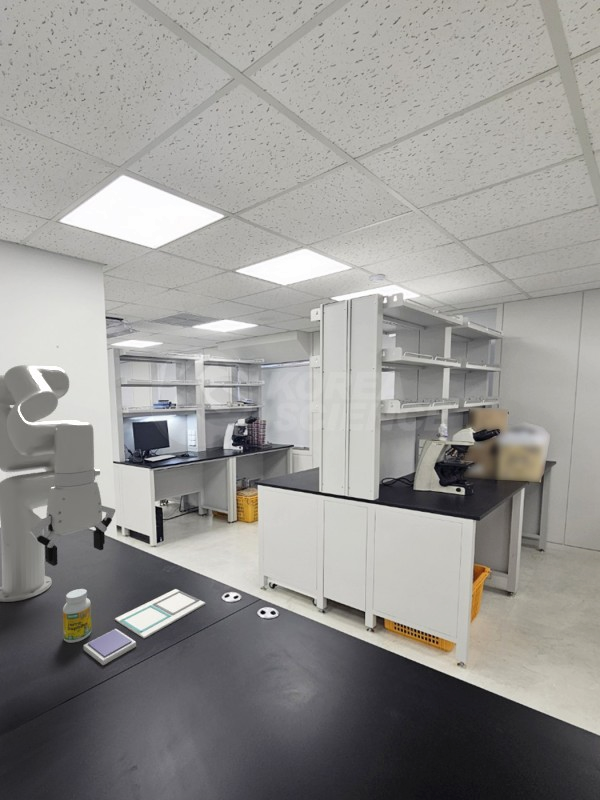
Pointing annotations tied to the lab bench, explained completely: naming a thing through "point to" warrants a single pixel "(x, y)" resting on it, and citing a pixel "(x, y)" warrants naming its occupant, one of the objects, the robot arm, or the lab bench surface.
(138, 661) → the lab bench surface
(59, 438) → the robot arm
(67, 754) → the lab bench surface
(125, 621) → the print sheet
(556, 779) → the lab bench surface
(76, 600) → the supplement bottle
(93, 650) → the ink pad
